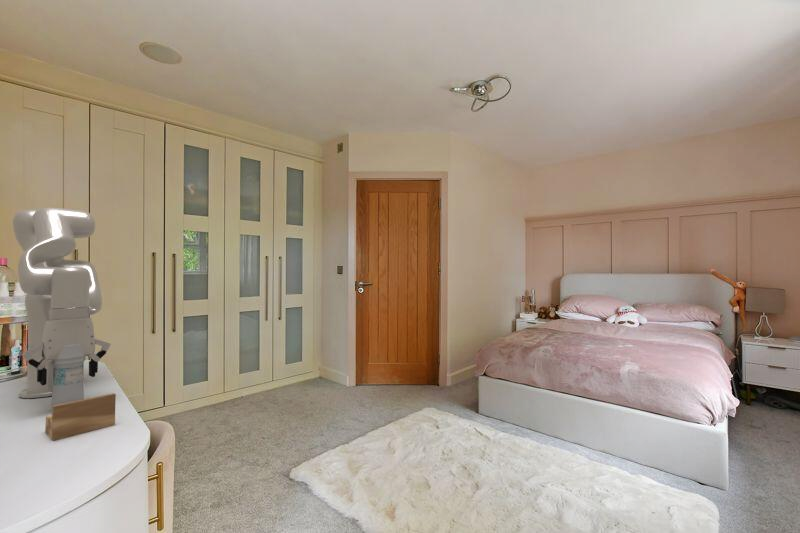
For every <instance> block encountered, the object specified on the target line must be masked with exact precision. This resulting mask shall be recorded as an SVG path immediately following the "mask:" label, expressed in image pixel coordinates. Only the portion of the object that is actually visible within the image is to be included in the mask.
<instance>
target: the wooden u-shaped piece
mask: <svg viewBox="0 0 800 533" xmlns="http://www.w3.org/2000/svg"><path fill="white" fill-rule="evenodd" d="M116 395H117V394H116V393H114V392H113V393H109V394H103V395H99V396H94V397H93V396H92V397H89V398H84V399H83V400H78V401H73V402H68V403H63V404H58V405H53V406H52V405H51V408H52V411H51V412H52V413H51V414H46V415H45V430H44V433H46V435H47V436H48V437H49V438H50V439H51V441H57V440H61V439H65V438H69V437H73V436H76V435H81V434H85V433H88V432H93V431H96V430H101V429H104V428H108V427H112V426H115V425H116ZM111 425H112V426H111ZM107 426H108V427H107ZM103 427H104V428H103Z"/></svg>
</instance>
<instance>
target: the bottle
mask: <svg viewBox="0 0 800 533" xmlns="http://www.w3.org/2000/svg"><path fill="white" fill-rule="evenodd" d="M85 361H86V356H84V353H83V350H82V348H81V345H80V344H69V345H65V346H63V347H62V349H61V352H60V354H59V356H58V358H57V359H56V360H52V364H53V366H54V367H53V391H52V396H51V407H52V406H53V405H58V404H63V403H68V402H73V401H78V400H83V399H85V392H84V372H85V371H84V367H85V366H84V364H85V363H84V362H85Z"/></svg>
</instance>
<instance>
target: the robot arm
mask: <svg viewBox="0 0 800 533" xmlns="http://www.w3.org/2000/svg"><path fill="white" fill-rule="evenodd" d="M12 226H13V232H14V236H15V239H16V241H17V243H18V244H19V246H20V247H21V249H22V250H23V253H22V254H21V256H20V257H19V259H18V263H17V275H18V282H19V288H20V289H21V291H22V292H23V293H25V294H26V295H25V298H24V306H25V310H26V318H27V329H28V330H27V332H28V334H27V336H28V338H27V344H28V345H27V350H26V351H23V352H22V353H21V355H22V357H23V358H24V359H25V361H26V362H27V369H26V372H27V373H26V374H27V375H26V376H27V377H26V388H24V389H23V390H20V391H19V392H18V396H19V398H23V399H34V398H35V399H37V398H38V399H39V398H47V397H52V391H53V367H54V366H53V364H52V360H56V359H57V358H58V356H59V354H60V352H61V349H62V347H63V346H65V345H69V344H80V345H81V348H82V350H83V353H84V356H85V357H88V358H89V359H90V360H89V361H88V376H89V377H91V378H95V377H96V374H97V373H98V372H99V371H98V370H99V369H98V368H99V361H100V360H101V359H102V358H103V356H105V355H106V354H107V351H108V350H109V349H110V347H111V345H112V344H111V343H109V342H107V341H103V340H101V339H97V338H95V328H94V323H93V320H92V319H93V318H91V316H92V315H96V314H97V313H99V312H100V311H101V309H102V307H103V297H102V291H101V287H100V282H99V278H98V275H97V271H96V268H95V266H94V265H93V263H91V262H89V261H87V260H82V259H81V260H80V259H79V260H78V259H64V257H67V256H69V255H71V254H72V253H73V252H74V251H75V250H76V248H77V243H76V239H85V238H90V237H91V236H93V235H94V233H95V230H96V220H95V218H94V216H93V215H92V214H91V213H90V212H88V211H85V210H81V209H71V208H63V207H62V208H61V207H53V206H52V207H49V206H48V207H47V206H46V207H41V208H39V209H37V208H36V209H34V208H31V209H29V208H28V209H21V210H19V211H18V212H16V213H14V216H13V219H12ZM96 345H98V346H101V348H100V350H99V351H98V352H97V353H96V354H95V350H96Z"/></svg>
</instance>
